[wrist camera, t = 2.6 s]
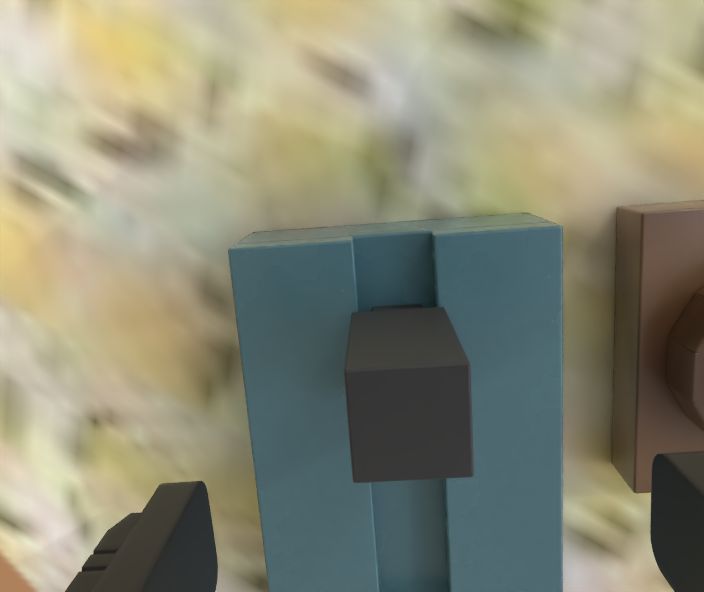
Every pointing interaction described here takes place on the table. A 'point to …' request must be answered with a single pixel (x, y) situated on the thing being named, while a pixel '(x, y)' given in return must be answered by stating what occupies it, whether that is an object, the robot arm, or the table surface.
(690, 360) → the panel
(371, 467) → the slider
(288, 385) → the control base
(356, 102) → the table surface
